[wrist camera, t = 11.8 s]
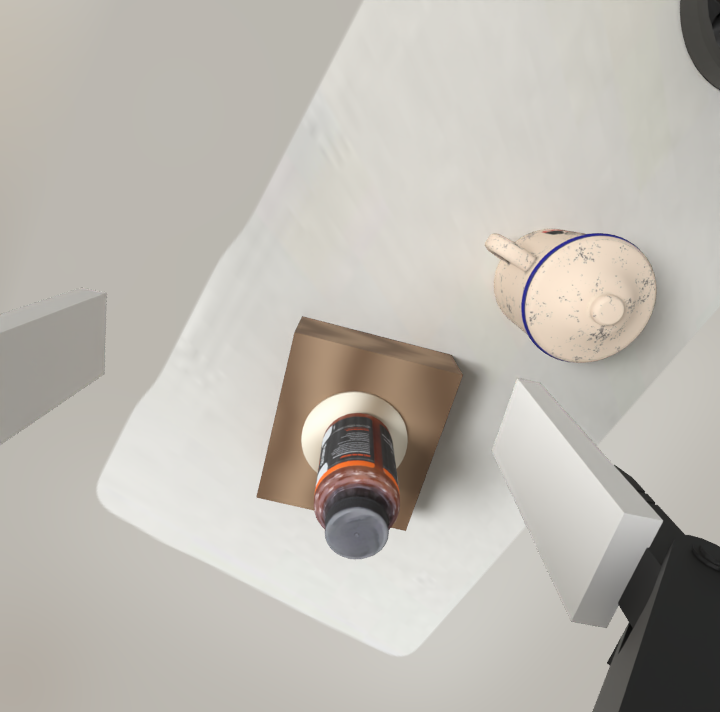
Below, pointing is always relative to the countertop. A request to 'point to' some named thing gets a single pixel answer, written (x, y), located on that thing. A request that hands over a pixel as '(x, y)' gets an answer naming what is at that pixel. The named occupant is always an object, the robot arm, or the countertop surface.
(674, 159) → the countertop surface
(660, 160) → the countertop surface
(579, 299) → the cream ceramic oval pot
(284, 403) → the walnut stand
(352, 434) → the supplement bottle
